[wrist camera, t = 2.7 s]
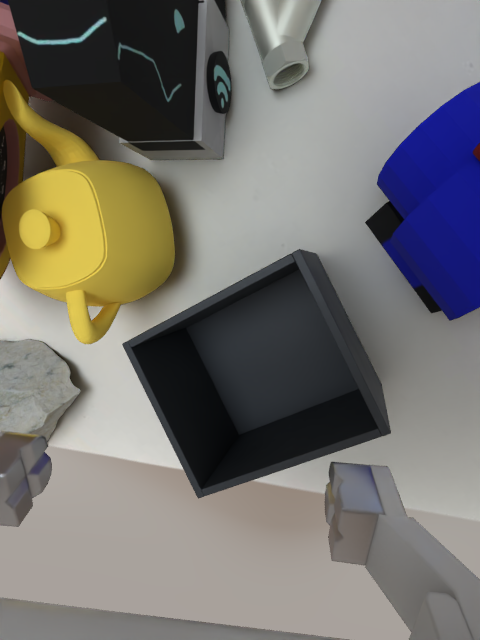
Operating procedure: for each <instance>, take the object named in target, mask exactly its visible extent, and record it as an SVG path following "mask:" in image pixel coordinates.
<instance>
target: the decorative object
mask: <svg viewBox="0 0 480 640" xmlns="http://www.w3.org/2000/svg"><path fill="white" fill-rule="evenodd" d="M8 3H9V7H10V10H11V14H12V18H13V21H14V25H15V28H16V32H17V35H18V39H19V43H20V46H21V50H22V53H23V57H24V61H25V64H26V68H27V71H28V75H29V79H30V82H31V86H32V88H33V89H34V90H36V91H38V92H40V93H41V94H43V95H45V96H47V97H49V98H50V99H52V100H54V101H56V102H58V103H59V104H61V105H63V106H65V107H67V108H68V109H70V110H72V111H74V112H76V113H77V114H79V115H81V116H83V117H85V118H86V119H88V120H90V121H92V122H94V123H95V124H97V125H99V126H101V127H103V128H104V129H106V130H108V131H110V132H111V133H113V134H115V135H117V136H119V143H120V144H122V145H124V146H126V147H128V148H130V149H132V150H133V151H135V152H137V153H139V154H141V155H143V156H145V157H147V158H149V159H150V160H177V159H223V156H224V135H225V114H226V113H227V112H228V110H229V107H230V101H231V77H230V70H229V65H228V50H229V28H228V26H227V24H226V12H225V0H8Z"/></svg>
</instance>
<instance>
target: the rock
mask: <svg viewBox="0 0 480 640" xmlns="http://www.w3.org/2000/svg"><path fill="white" fill-rule="evenodd" d="M70 373H71V371H70V368H69V366H68V365H67V363H66V362H65V361H64V360H62V359H61V358H60V357H59V356H57V355H56V354H55V353H54V351H53V350H51V349H50V348H49V347H48V346H47V345H46V344H45V343H43V342H40V341H36V340H31V339H27V340H23V341H18V342H8V341H0V431H7V432H9V431H11V432H20V433H28V434H37V435H42V436H45V437H46V440H47V441H48V440H49V438H50V436H51V435H50V434H51V433H52V432H53V431H54V429H55V427H56V423H57V421H58V419H59V418H60V416H62V415H63V414H64V412H65V410H66V409H67V408H68V407H69V406H70V405H71V404H72V403H73V401H74V399H75V398H76V397H77V396H78V395H79V393H80V392H81V391H80V389H79V388H77V387H75V386H74V385H73V384H72V382H71V380H70V377H69V376H70Z"/></svg>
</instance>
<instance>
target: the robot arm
mask: <svg viewBox="0 0 480 640" xmlns="http://www.w3.org/2000/svg"><path fill="white" fill-rule="evenodd" d="M47 447H48V444H47V440H46V437H45V436H42V435H37V434H28V433H20V432H11V431H9V432H7V431H0V525H3V526H16V527H18V526H19V525H20V524H21V522H22V521H23V519H24V518H25V516H26V515H27V513H28V512H29V511H30V509H31V508H32V506H33V502H32V498H34V497H35V496H37V495H39V494H40V493H42V492H43V490H44V488H45V487H46V485H47V484H48V481H49V479H50V476H51V471H52V463H51V458H50V457H49V456H48V455H47V454H46V453H45V452H44V451H45V450H46V448H47ZM329 478H330V482H329V483H328V484H327V485H326V492H325V515H326V522H327V523H328V524H329V525H330V531H329V536H328V538H329V545H330V552H331V559H332V561H337V562H344V563H351V564H359V565H366V569H367V570H368V572H369V573H370V575H371V576H372V577H373V579H374V580H375V581H376V583H377V584H378V586H379V587H380V589H381V590H382V592H383V593H384V594H385V596H386V597H387V599H388V600H389V601H390V603H391V604H392V605H393V607H394V608H395V610H396V611H397V613H398V614H399V616H400V617H401V618H402V620H403V621H404V623H405V624H406V625H407V627H408V628H409V630H410V631H411V635H410V638H409V640H480V579H479V578H478V577H476V576H475V575H474V574H473V573H472V572H471V571H470V570H469V569H468V568H467V567H466V566H465V565H464V564H462V563H461V562H460V561H459V560H458V559H457V558H456V557H455V556H454V555H453V554H452V553H451V552H450V551H448V550H447V549H446V548H445V547H444V546H443V545H442V544H441V543H440V542H438V541H437V540H436V539H435V538H434V537H433V536H432V535H431V534H430V533H429V532H428V531H427V530H426V529H425V528H424V527H423V526H421V525H420V524H419V523H418V522H417V521H416V520H415V519H414V518H410V517H407V515H406V512H405V509H404V506H403V504H402V501H401V498H400V495H399V493H398V490H397V487H396V484H395V482H394V479H393V476H392V473H391V471H390V469H389V468H388V467H387V466H378V465H363V464H351V463H339V462H331V464H330V468H329ZM0 640H348V639H339V638H331V637H323V636H315V635H307V634H298V633H290V632H282V631H274V630H265V629H257V628H248V627H240V626H231V625H223V624H215V623H206V622H198V621H190V620H181V619H173V618H165V617H156V616H148V615H139V614H131V613H123V612H115V611H106V610H99V609H91V608H82V607H74V606H66V605H58V604H49V603H41V602H33V601H25V600H17V599H8V598H0Z"/></svg>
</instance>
